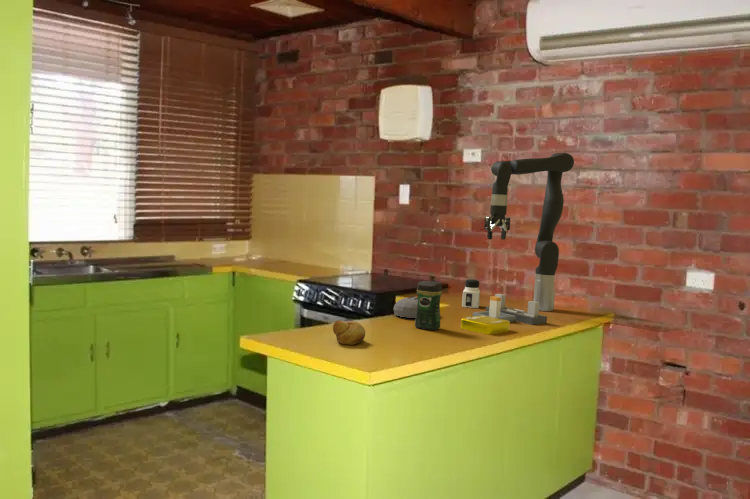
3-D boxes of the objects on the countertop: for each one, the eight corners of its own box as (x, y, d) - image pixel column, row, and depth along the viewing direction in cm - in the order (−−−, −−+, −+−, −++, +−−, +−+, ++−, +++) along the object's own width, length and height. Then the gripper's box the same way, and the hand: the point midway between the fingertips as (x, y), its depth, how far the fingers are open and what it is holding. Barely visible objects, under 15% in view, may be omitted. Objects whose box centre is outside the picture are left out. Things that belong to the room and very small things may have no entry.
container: (478, 308, 325) (480, 281, 324) (461, 307, 327) (463, 279, 326) (479, 306, 333) (481, 279, 332) (463, 304, 334) (464, 278, 333)
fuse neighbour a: (497, 313, 315) (499, 293, 315) (504, 314, 312) (505, 295, 311) (493, 313, 314) (495, 293, 313) (500, 315, 311) (501, 295, 310)
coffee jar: (442, 328, 272) (445, 281, 271) (434, 331, 266) (437, 283, 264) (420, 324, 277) (423, 279, 276) (411, 327, 270) (414, 280, 269)
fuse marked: (492, 316, 300) (494, 296, 299) (499, 318, 296) (501, 297, 296) (488, 317, 298) (490, 296, 297) (495, 318, 295) (497, 297, 294)
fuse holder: (499, 312, 319) (500, 304, 319) (546, 323, 296) (547, 315, 296) (485, 313, 314) (486, 305, 313) (532, 324, 291) (532, 316, 290)
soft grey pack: (406, 311, 309) (386, 317, 291) (407, 292, 308) (387, 297, 291) (437, 315, 302) (418, 322, 284) (439, 296, 301) (419, 302, 284)
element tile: (489, 336, 265) (490, 323, 264) (458, 329, 275) (459, 317, 275) (511, 331, 276) (512, 319, 275) (480, 325, 286) (481, 313, 286)
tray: (494, 316, 306) (494, 310, 306) (515, 321, 296) (516, 316, 296) (472, 318, 299) (472, 312, 299) (493, 323, 288) (494, 317, 288)
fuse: (530, 321, 299) (532, 300, 298) (537, 323, 296) (539, 302, 295) (526, 321, 298) (528, 301, 297) (533, 323, 294) (535, 302, 294)
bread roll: (349, 337, 247) (350, 315, 247) (372, 341, 243) (373, 319, 242) (329, 343, 236) (330, 320, 235) (353, 347, 231) (354, 324, 231)
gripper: (504, 204, 327) (501, 238, 328) (481, 203, 319) (479, 238, 320) (515, 205, 321) (513, 240, 322) (493, 204, 313) (491, 240, 314)
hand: (496, 239), depth 321 cm, fingers open, 8 cm apart
